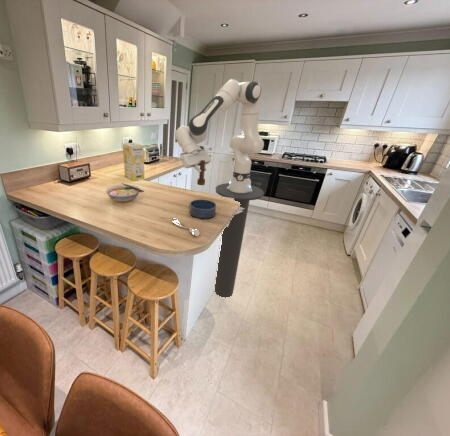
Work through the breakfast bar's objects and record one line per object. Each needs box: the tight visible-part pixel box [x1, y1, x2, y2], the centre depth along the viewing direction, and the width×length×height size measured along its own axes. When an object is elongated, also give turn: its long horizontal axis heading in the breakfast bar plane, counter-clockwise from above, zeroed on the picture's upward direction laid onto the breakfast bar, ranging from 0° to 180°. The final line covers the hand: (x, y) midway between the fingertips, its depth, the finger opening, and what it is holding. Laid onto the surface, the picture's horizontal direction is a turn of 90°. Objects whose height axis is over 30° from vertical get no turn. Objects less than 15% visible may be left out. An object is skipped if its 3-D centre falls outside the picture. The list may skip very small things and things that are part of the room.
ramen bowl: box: [105, 182, 145, 203], centre depth 155 cm, size 25×23×8 cm
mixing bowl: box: [189, 199, 217, 219], centre depth 137 cm, size 15×15×6 cm
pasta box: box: [122, 142, 146, 182], centre depth 199 cm, size 18×10×28 cm, turn 32°
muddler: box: [196, 160, 206, 186], centre depth 135 cm, size 4×4×14 cm
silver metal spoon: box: [171, 217, 201, 237], centre depth 121 cm, size 20×4×5 cm
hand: (202, 171), depth 134 cm, fingers closed on muddler, 2 cm apart
